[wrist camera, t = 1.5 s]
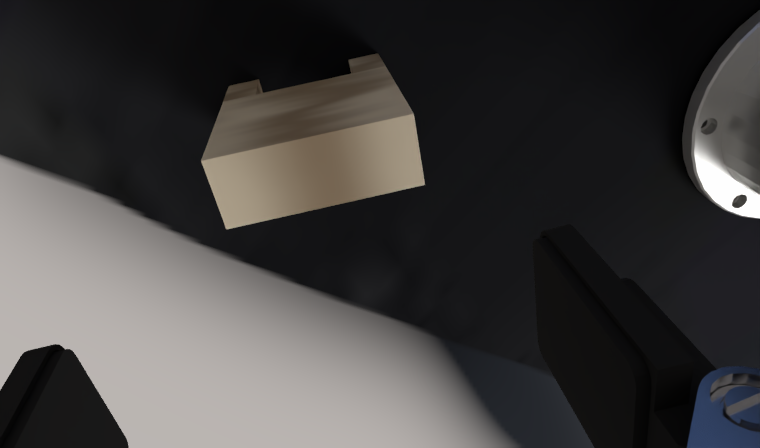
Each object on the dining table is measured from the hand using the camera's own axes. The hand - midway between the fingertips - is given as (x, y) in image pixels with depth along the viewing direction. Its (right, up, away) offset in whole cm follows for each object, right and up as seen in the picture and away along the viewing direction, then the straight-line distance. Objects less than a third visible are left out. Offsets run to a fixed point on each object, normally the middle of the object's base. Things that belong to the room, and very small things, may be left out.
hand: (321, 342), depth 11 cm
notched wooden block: (-2, +8, +15) cm, 18 cm away
